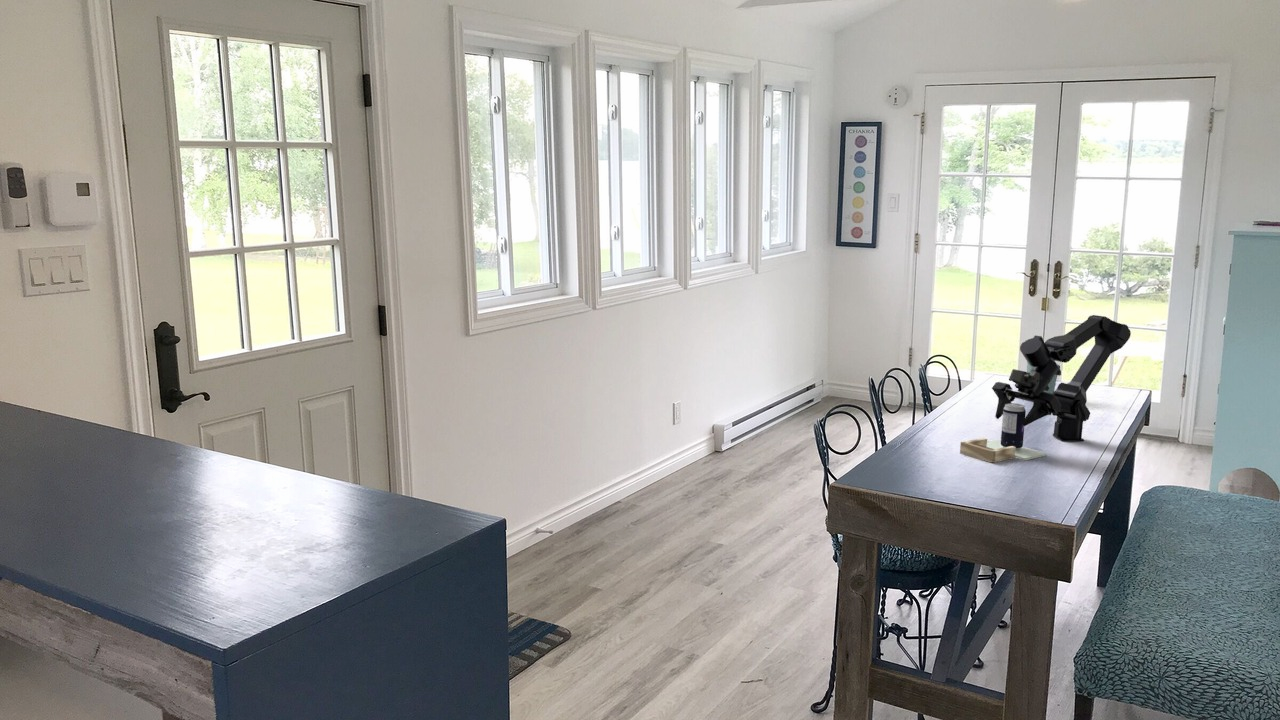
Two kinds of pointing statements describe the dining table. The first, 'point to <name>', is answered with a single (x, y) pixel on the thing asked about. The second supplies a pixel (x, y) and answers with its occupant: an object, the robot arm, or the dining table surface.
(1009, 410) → the beverage can
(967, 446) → the frame
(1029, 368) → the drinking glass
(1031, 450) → the sage pad
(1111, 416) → the dining table surface
